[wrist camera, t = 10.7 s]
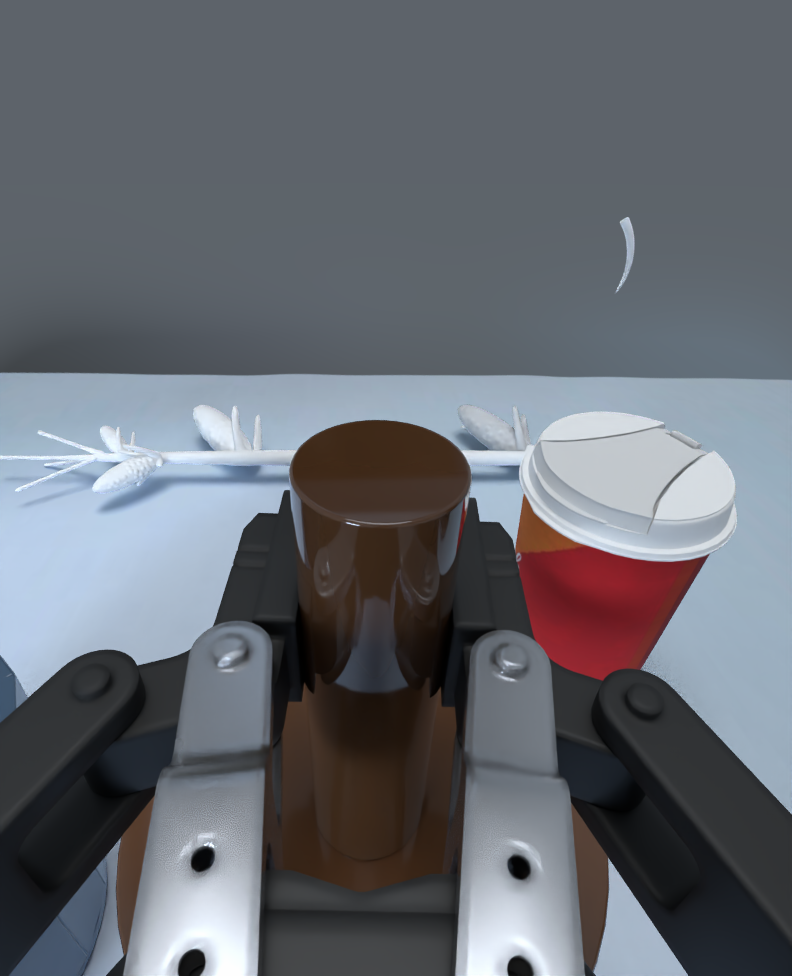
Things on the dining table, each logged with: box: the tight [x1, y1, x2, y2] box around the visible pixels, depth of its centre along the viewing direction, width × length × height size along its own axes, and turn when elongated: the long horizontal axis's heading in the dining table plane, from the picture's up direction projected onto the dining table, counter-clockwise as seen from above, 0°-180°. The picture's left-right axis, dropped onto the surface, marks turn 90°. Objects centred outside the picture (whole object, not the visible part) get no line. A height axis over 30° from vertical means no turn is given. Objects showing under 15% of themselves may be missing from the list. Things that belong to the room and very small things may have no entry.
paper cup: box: [515, 412, 737, 681], centre depth 26 cm, size 8×8×14 cm
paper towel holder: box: [116, 420, 609, 972], centre depth 12 cm, size 11×11×11 cm
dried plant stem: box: [0, 217, 634, 493], centre depth 37 cm, size 12×19×40 cm
